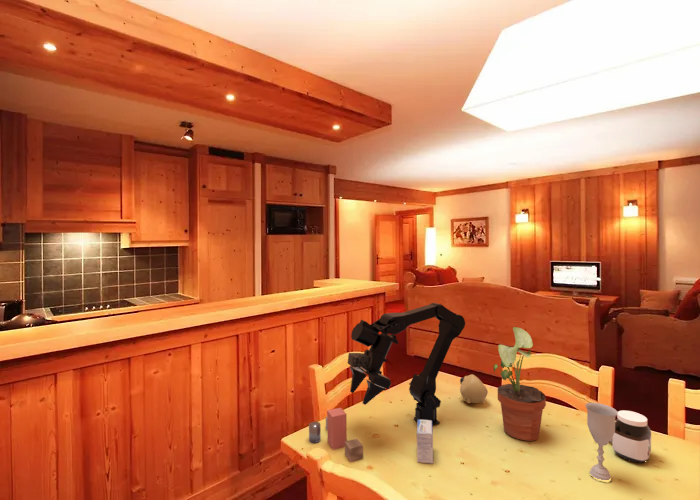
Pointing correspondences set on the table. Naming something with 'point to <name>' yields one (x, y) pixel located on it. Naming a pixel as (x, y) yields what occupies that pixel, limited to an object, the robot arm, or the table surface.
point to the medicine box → (424, 441)
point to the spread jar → (632, 436)
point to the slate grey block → (326, 424)
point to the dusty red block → (336, 428)
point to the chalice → (600, 433)
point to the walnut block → (353, 450)
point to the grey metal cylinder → (314, 432)
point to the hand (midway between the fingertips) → (357, 398)
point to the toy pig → (473, 389)
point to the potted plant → (519, 393)
